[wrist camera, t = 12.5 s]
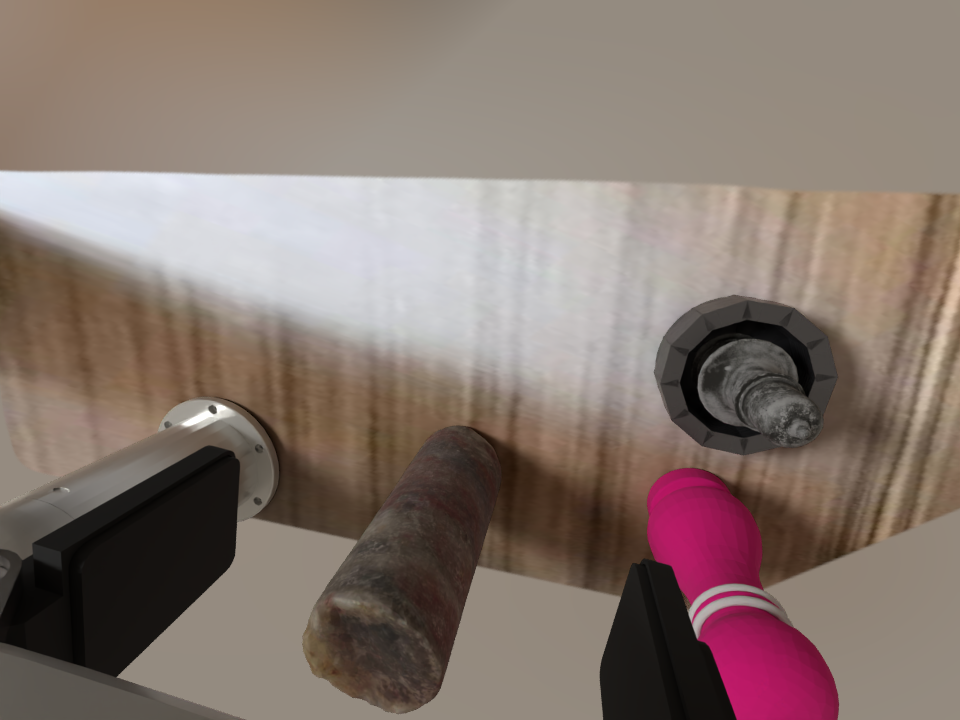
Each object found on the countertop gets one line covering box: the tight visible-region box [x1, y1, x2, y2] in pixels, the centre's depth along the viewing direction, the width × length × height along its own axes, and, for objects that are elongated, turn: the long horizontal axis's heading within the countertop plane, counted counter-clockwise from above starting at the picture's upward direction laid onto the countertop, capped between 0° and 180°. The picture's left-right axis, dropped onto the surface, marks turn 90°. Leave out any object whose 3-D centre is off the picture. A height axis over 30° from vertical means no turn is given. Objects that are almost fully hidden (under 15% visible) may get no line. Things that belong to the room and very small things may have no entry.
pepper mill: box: [647, 468, 839, 720], centre depth 28 cm, size 7×7×20 cm
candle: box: [302, 426, 501, 714], centre depth 31 cm, size 8×7×20 cm
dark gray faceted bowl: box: [654, 295, 838, 455], centre depth 33 cm, size 10×10×4 cm
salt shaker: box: [691, 333, 824, 448], centre depth 28 cm, size 6×6×12 cm
